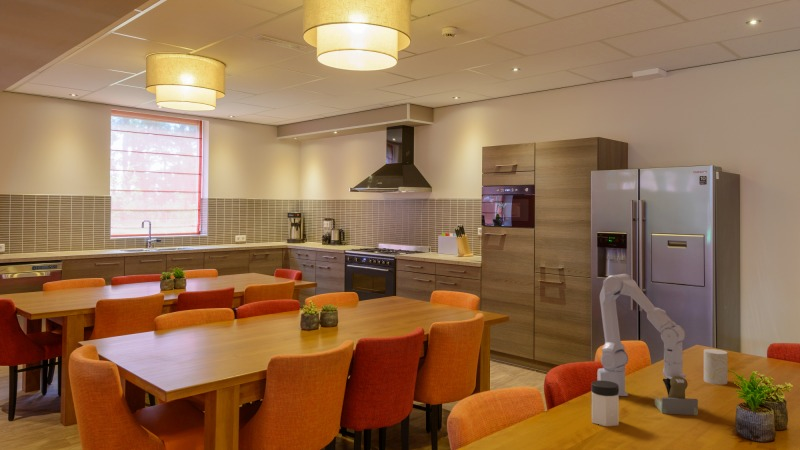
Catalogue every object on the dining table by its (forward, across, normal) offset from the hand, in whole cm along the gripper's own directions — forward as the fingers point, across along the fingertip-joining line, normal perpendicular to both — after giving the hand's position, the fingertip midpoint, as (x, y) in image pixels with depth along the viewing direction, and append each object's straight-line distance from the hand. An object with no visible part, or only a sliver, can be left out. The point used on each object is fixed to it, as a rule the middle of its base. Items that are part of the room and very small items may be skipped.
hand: (673, 401), depth 187 cm
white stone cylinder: (+2, +34, -27) cm, 44 cm away
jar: (+2, -18, +26) cm, 32 cm away
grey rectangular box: (+2, -3, 0) cm, 4 cm away
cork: (+1, -2, 0) cm, 3 cm away
